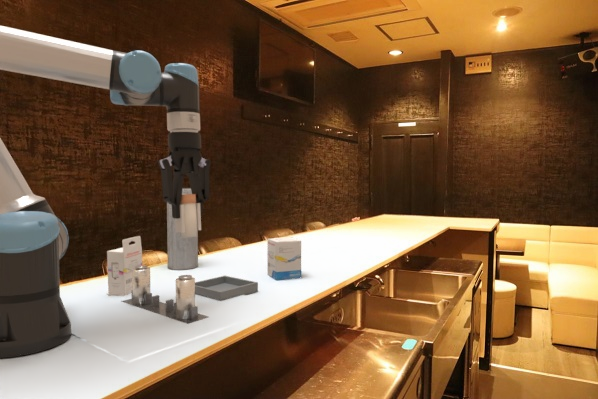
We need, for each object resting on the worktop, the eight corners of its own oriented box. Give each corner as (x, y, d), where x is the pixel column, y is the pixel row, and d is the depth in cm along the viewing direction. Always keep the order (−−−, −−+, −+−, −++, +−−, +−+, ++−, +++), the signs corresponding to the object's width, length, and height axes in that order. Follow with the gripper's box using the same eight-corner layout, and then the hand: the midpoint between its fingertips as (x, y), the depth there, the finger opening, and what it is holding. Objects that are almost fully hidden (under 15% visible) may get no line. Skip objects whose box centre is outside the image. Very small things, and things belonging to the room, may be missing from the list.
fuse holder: (187, 325, 87) (187, 281, 87) (120, 302, 104) (120, 265, 103) (209, 318, 92) (209, 277, 91) (141, 297, 108) (141, 262, 108)
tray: (220, 302, 104) (220, 292, 104) (187, 293, 112) (187, 284, 112) (257, 291, 114) (257, 282, 114) (224, 284, 122) (224, 275, 122)
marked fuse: (186, 238, 100) (184, 195, 99) (176, 236, 102) (174, 194, 102) (201, 235, 103) (199, 194, 102) (190, 234, 105) (188, 194, 105)
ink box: (302, 278, 130) (302, 239, 130) (275, 280, 127) (275, 241, 127) (292, 272, 138) (292, 236, 138) (266, 274, 135) (266, 237, 135)
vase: (161, 269, 143) (160, 188, 142) (177, 263, 153) (176, 187, 151) (189, 270, 140) (188, 188, 139) (203, 264, 150) (202, 187, 149)
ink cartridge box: (126, 288, 118) (126, 234, 117) (143, 289, 117) (142, 235, 116) (106, 296, 109) (105, 239, 109) (124, 297, 108) (123, 239, 108)
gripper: (161, 128, 92) (166, 236, 93) (222, 133, 105) (226, 227, 106) (142, 131, 97) (147, 234, 98) (203, 135, 110) (207, 226, 111)
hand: (188, 230), depth 102 cm, fingers closed on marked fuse, 4 cm apart
